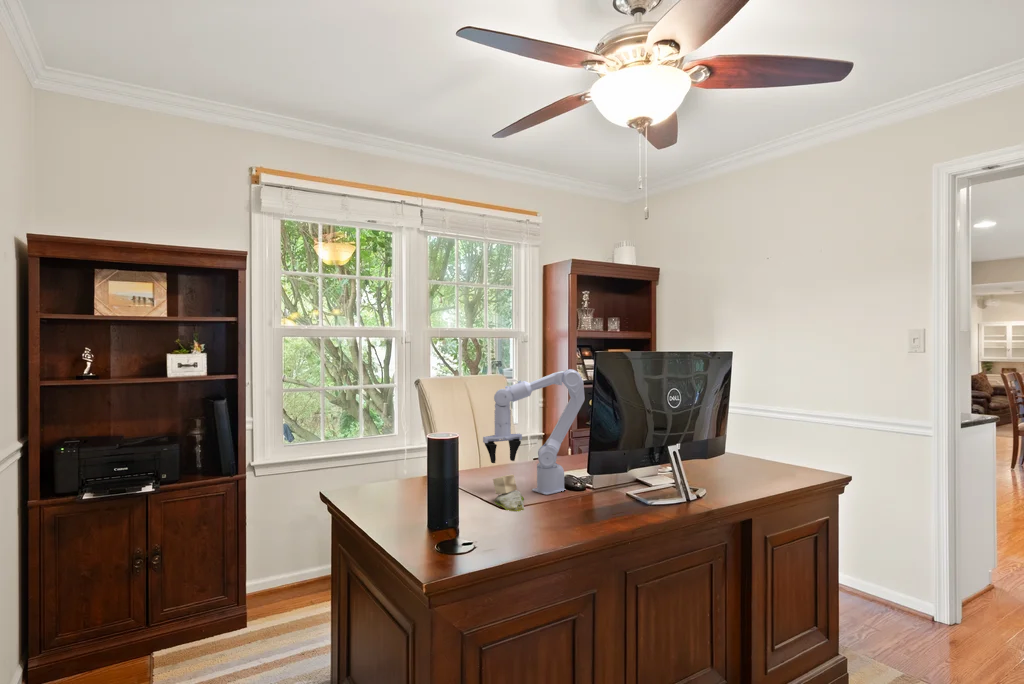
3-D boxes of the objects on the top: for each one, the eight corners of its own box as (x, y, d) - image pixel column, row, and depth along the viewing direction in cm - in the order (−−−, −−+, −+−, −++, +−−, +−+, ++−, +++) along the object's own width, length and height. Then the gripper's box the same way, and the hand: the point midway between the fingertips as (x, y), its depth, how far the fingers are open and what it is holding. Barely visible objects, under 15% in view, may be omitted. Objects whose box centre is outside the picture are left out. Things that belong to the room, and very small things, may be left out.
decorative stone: (491, 495, 197) (491, 484, 197) (520, 494, 198) (520, 483, 198) (493, 513, 174) (493, 501, 174) (526, 512, 175) (526, 500, 175)
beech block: (506, 490, 190) (503, 475, 190) (517, 489, 186) (513, 474, 187) (496, 494, 186) (492, 479, 187) (506, 493, 183) (503, 477, 183)
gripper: (489, 425, 192) (489, 465, 192) (526, 423, 199) (526, 461, 199) (480, 423, 198) (480, 462, 198) (516, 420, 205) (516, 458, 205)
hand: (502, 461), depth 199 cm, fingers open, 7 cm apart
